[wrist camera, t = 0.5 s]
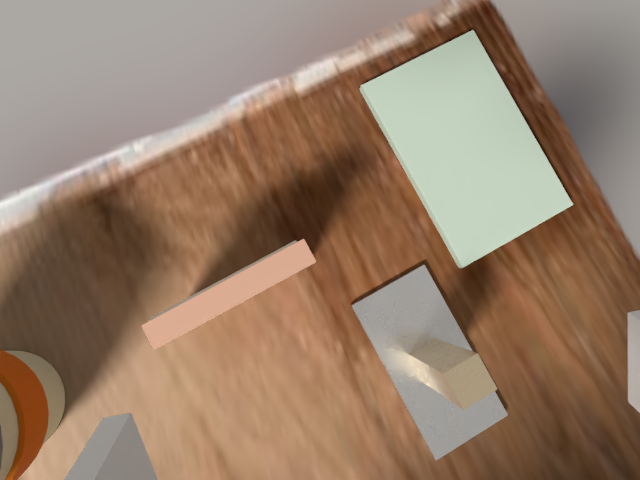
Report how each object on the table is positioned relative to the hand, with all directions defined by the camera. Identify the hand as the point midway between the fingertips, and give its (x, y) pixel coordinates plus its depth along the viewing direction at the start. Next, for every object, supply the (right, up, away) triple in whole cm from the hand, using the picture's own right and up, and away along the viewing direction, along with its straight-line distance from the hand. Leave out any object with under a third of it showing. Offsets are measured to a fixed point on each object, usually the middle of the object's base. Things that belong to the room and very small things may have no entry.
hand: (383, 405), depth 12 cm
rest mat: (+13, +14, +33) cm, 38 cm away
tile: (-9, 0, +30) cm, 31 cm away
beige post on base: (+8, -7, +31) cm, 33 cm away
